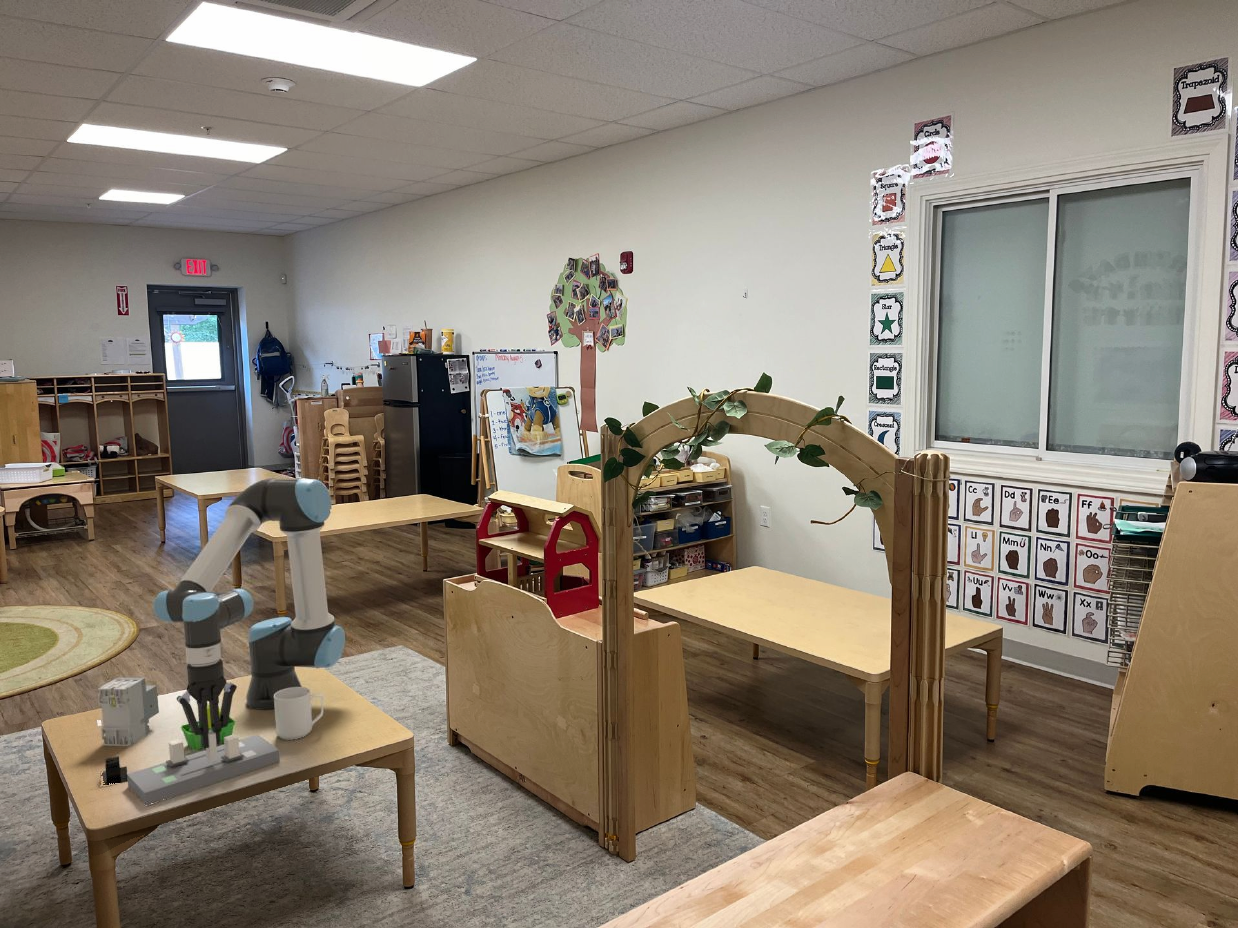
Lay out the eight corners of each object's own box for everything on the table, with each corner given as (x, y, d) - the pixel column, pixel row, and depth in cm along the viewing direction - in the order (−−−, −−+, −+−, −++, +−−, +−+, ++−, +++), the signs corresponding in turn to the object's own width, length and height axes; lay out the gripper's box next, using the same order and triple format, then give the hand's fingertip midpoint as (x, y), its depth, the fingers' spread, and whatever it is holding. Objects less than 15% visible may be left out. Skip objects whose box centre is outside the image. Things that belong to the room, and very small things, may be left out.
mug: (276, 743, 227) (274, 701, 226) (276, 730, 235) (273, 689, 234) (326, 735, 231) (323, 694, 230) (323, 722, 240) (321, 682, 238)
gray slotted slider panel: (258, 745, 226) (257, 733, 226) (279, 761, 217) (279, 749, 216) (128, 786, 205) (127, 773, 205) (145, 805, 196) (144, 792, 196)
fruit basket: (227, 731, 235) (224, 690, 234) (239, 741, 229) (236, 699, 227) (181, 745, 228) (177, 702, 226) (192, 755, 221) (189, 712, 220)
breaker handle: (184, 757, 212) (182, 737, 212) (188, 761, 210) (187, 741, 209) (166, 762, 210) (164, 742, 209) (170, 767, 207) (168, 746, 207)
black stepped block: (97, 771, 214) (95, 753, 214) (131, 764, 218) (130, 746, 217) (96, 793, 204) (94, 774, 203) (132, 785, 207) (130, 766, 207)
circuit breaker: (163, 723, 242) (159, 669, 240) (130, 745, 228) (125, 689, 226) (137, 722, 242) (133, 669, 241) (102, 745, 228) (97, 688, 227)
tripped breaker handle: (238, 752, 214) (237, 732, 214) (243, 756, 212) (242, 736, 211) (221, 758, 211) (219, 737, 211) (226, 762, 209) (224, 741, 209)
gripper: (180, 672, 198) (188, 773, 201) (239, 658, 207) (246, 755, 210) (169, 664, 204) (177, 763, 206) (227, 650, 213) (234, 745, 215)
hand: (212, 759), depth 208 cm, fingers closed
